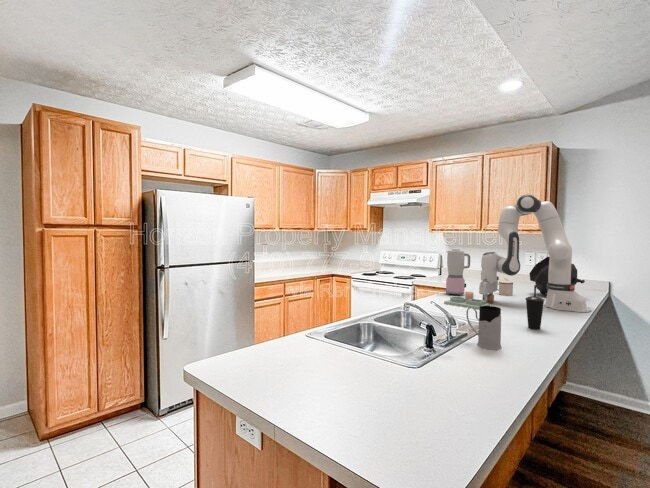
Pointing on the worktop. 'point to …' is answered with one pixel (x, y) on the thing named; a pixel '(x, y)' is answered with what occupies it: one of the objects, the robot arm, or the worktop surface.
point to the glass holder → (488, 327)
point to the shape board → (466, 302)
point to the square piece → (490, 298)
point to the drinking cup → (534, 310)
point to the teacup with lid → (505, 287)
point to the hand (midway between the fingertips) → (488, 300)
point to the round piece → (468, 295)
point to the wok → (541, 275)
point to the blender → (456, 272)
